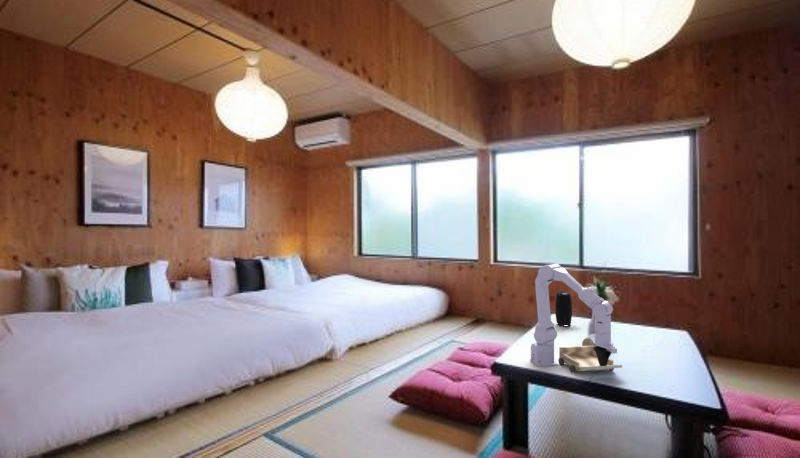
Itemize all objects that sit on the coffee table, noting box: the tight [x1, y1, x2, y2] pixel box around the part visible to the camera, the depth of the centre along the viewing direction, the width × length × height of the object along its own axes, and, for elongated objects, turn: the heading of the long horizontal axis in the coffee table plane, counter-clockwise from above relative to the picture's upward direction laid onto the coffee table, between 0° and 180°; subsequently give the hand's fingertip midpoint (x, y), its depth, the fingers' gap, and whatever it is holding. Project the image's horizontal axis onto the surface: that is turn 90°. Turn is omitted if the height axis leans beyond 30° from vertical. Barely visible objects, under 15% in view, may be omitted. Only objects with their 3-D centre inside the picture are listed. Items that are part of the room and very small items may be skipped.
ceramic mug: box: [581, 333, 596, 347], centre depth 194 cm, size 11×8×8 cm
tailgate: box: [580, 364, 623, 371], centre depth 163 cm, size 14×1×6 cm
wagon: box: [557, 345, 615, 374], centre depth 173 cm, size 18×14×7 cm
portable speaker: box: [554, 291, 573, 326], centre depth 244 cm, size 9×9×20 cm
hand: (603, 365), depth 161 cm, fingers closed
